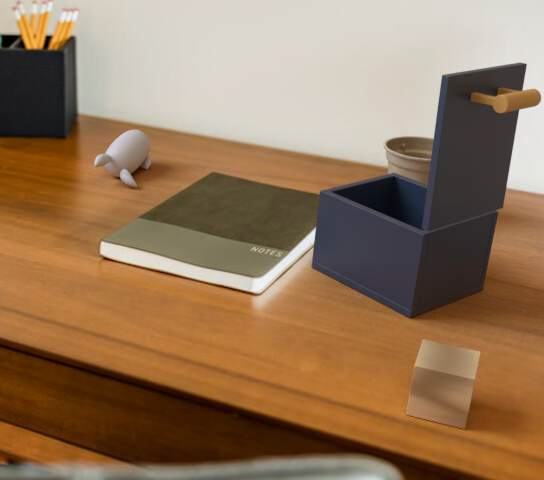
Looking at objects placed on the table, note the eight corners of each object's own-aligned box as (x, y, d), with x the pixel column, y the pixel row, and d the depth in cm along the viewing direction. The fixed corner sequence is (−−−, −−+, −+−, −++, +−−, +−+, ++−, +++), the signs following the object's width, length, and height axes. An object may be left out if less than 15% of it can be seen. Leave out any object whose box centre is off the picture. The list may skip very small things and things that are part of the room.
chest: (311, 267, 97) (319, 190, 93) (383, 244, 103) (394, 172, 100) (410, 318, 87) (424, 234, 83) (483, 290, 93) (498, 211, 90)
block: (471, 400, 74) (480, 351, 72) (465, 429, 70) (475, 379, 68) (414, 386, 76) (422, 338, 74) (405, 414, 72) (414, 365, 70)
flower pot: (406, 231, 107) (416, 162, 104) (359, 204, 115) (368, 139, 112) (467, 221, 111) (479, 155, 108) (418, 196, 119) (428, 133, 115)
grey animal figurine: (115, 133, 126) (77, 171, 117) (140, 115, 123) (103, 153, 114) (143, 167, 128) (107, 208, 118) (168, 151, 125) (134, 191, 115)
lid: (441, 74, 78) (488, 84, 75) (519, 62, 85) (566, 71, 81) (421, 229, 84) (464, 245, 80) (496, 206, 90) (539, 220, 87)
